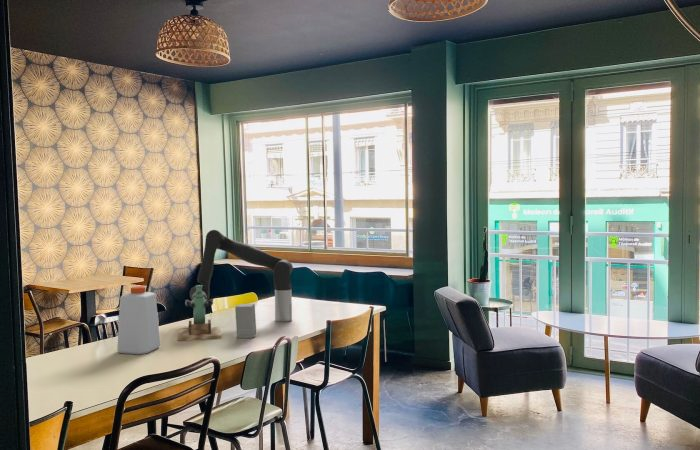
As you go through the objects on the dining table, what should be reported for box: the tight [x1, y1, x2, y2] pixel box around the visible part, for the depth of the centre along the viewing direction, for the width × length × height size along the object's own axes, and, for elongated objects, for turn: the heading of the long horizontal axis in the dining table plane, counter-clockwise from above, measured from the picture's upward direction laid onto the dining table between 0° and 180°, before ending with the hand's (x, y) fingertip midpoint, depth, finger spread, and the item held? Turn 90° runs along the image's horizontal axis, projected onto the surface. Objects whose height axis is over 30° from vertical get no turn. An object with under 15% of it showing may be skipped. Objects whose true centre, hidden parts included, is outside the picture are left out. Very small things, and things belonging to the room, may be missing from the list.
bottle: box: [193, 284, 206, 324], centre depth 267 cm, size 6×6×19 cm
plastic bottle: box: [116, 286, 161, 355], centre depth 241 cm, size 15×15×28 cm
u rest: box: [177, 319, 223, 342], centre depth 268 cm, size 20×18×6 cm
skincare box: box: [234, 303, 257, 339], centre depth 264 cm, size 8×7×16 cm
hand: (199, 305), depth 265 cm, fingers closed on bottle, 5 cm apart
